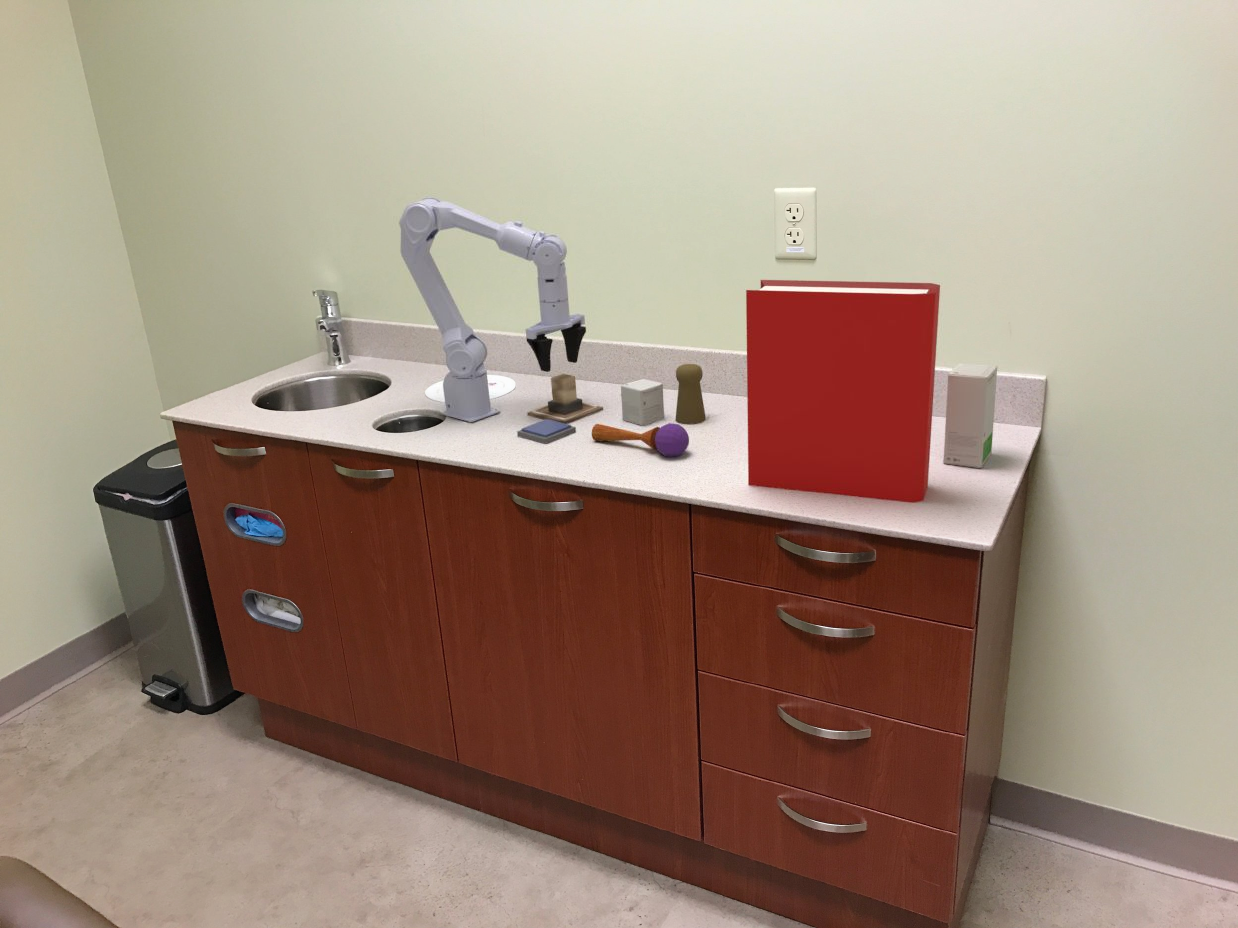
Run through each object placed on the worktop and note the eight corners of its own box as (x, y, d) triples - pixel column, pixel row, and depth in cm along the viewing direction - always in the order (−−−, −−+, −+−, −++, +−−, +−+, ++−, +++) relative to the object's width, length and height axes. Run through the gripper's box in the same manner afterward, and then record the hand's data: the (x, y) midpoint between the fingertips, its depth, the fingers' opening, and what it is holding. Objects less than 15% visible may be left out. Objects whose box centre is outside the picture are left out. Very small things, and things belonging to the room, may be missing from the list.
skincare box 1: (642, 426, 188) (640, 390, 185) (621, 420, 192) (619, 385, 189) (665, 418, 191) (663, 383, 189) (644, 412, 196) (642, 377, 193)
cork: (704, 424, 186) (702, 369, 182) (673, 424, 188) (671, 369, 184) (707, 414, 192) (706, 361, 188) (677, 414, 193) (675, 361, 189)
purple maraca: (606, 415, 183) (695, 422, 171) (607, 446, 184) (695, 455, 172) (586, 418, 179) (676, 426, 167) (587, 450, 180) (676, 460, 168)
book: (748, 485, 157) (746, 290, 146) (761, 467, 164) (760, 279, 152) (922, 503, 146) (934, 294, 135) (928, 484, 153) (941, 283, 142)
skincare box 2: (980, 469, 157) (988, 378, 152) (939, 463, 161) (945, 373, 155) (992, 452, 164) (1000, 364, 158) (952, 447, 167) (958, 360, 162)
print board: (527, 415, 198) (527, 411, 198) (565, 401, 206) (565, 397, 205) (565, 424, 191) (564, 420, 191) (603, 409, 199) (602, 406, 198)
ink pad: (517, 436, 186) (516, 428, 186) (547, 424, 192) (546, 417, 191) (546, 444, 181) (545, 436, 181) (576, 432, 187) (575, 424, 186)
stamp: (548, 411, 198) (545, 378, 195) (565, 404, 201) (562, 372, 199) (565, 415, 195) (562, 381, 192) (582, 408, 198) (580, 375, 196)
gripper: (541, 308, 182) (547, 378, 187) (593, 294, 192) (598, 360, 197) (516, 305, 187) (522, 372, 192) (568, 291, 197) (573, 356, 202)
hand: (559, 366), depth 195 cm, fingers open, 7 cm apart
